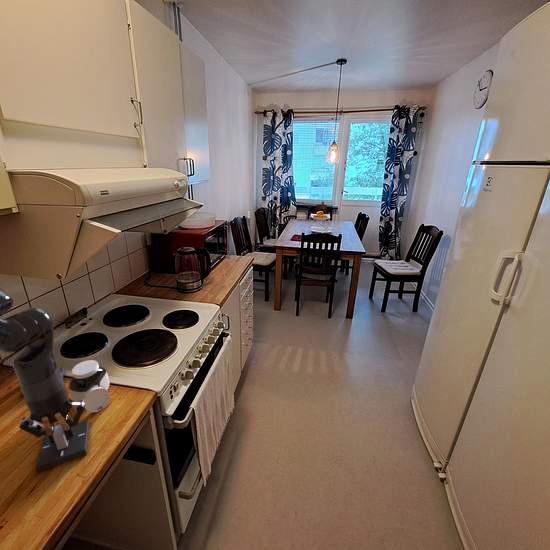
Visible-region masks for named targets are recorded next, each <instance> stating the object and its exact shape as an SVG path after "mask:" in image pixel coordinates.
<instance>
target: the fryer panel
mask: <svg viewBox="0 0 550 550" xmlns="http://www.w3.org/2000/svg"><path fill="white" fill-rule="evenodd" d="M90 426H91V424H90V421H89V419H85V420H82V421H79V422H78V424H77V425H76V426H72V427H73V430H74V434H73V437H71V440H69V441H68V447H66V448H63V449H60V450H58V449H57V446H56V445H55V444H52V443H51V442H50V439H49V437H48V436H47V435H43V438H42V442H41V446H40V449H39V454H38V458H37V461H36V465H35V469H36V470H37V472H38V473H42V472H43V471H47V470H49V469H51V468H54V467H58V466H60V465H63V464H65V463H69V462H71V461H74V460H77V459H79V458H82V457H85V456H86V455H88V448H89V437H90V428H91V427H90Z"/></svg>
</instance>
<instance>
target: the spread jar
mask: <svg viewBox="0 0 550 550" xmlns="http://www.w3.org/2000/svg"><path fill="white" fill-rule="evenodd" d="M71 374H72V377H71V379H70V380H69V384H68V390H69V393H70V396H71V400H73V402H80V401H81V400H84V401H85V405H84V410H86V411H88V412H89V413H98V412H100V411H102V410H103V409H105V408H106V407H107V406H108V405H109V402H110V400H111V399H110V398H111V395H110V392H109V388H110V378H109V375H108V371H107V369H106V368H104V367H103V366H100V365H99V363H98V361H97V360H94V359H89V360H84V361H81V362H79V363H77V364H75V365H74V366H73V368H72V369H71Z"/></svg>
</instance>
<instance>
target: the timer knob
mask: <svg viewBox="0 0 550 550" xmlns="http://www.w3.org/2000/svg"><path fill="white" fill-rule="evenodd" d="M53 438H54V441H55V444H56V446H57V449H58V450H60V449H63V448H66V447H68V441H67V438H66V435H65V433H64V428H63V427H62V426H61V425H60V423H59V422H55V423H54V433H53Z"/></svg>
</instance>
